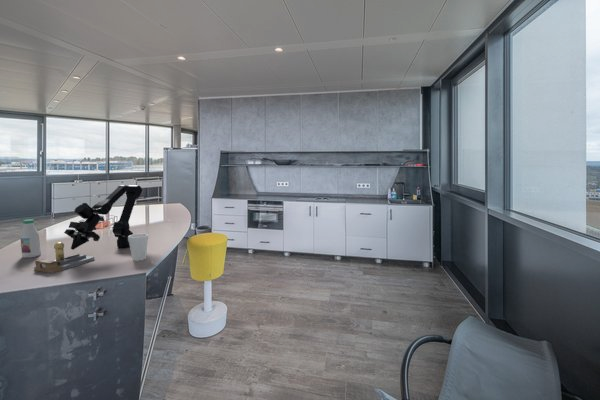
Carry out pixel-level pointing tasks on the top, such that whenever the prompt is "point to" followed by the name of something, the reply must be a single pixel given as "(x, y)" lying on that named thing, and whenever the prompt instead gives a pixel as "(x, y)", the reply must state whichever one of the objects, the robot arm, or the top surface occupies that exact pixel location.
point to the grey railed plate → (61, 263)
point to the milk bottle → (30, 240)
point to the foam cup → (138, 246)
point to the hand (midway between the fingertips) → (71, 249)
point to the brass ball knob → (58, 253)
